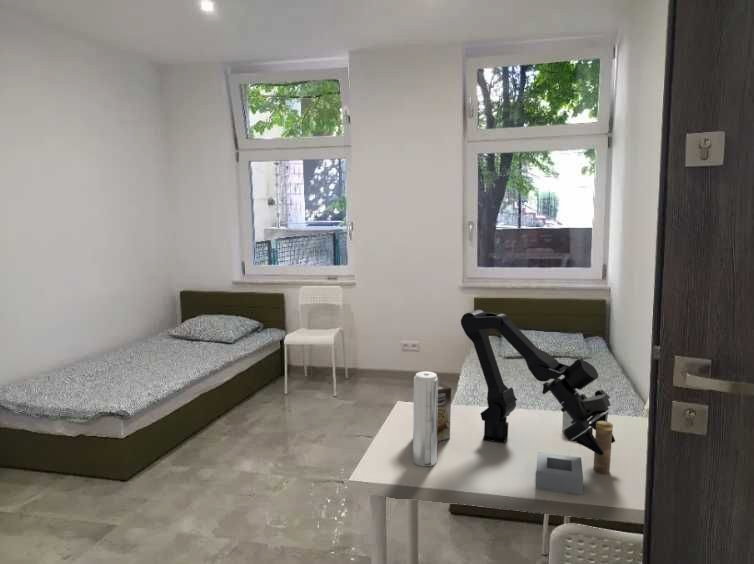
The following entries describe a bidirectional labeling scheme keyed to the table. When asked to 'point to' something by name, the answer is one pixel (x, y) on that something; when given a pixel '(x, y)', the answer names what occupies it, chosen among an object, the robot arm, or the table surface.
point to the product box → (566, 420)
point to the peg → (603, 447)
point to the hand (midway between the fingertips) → (608, 448)
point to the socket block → (559, 473)
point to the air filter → (425, 418)
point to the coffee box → (443, 412)
